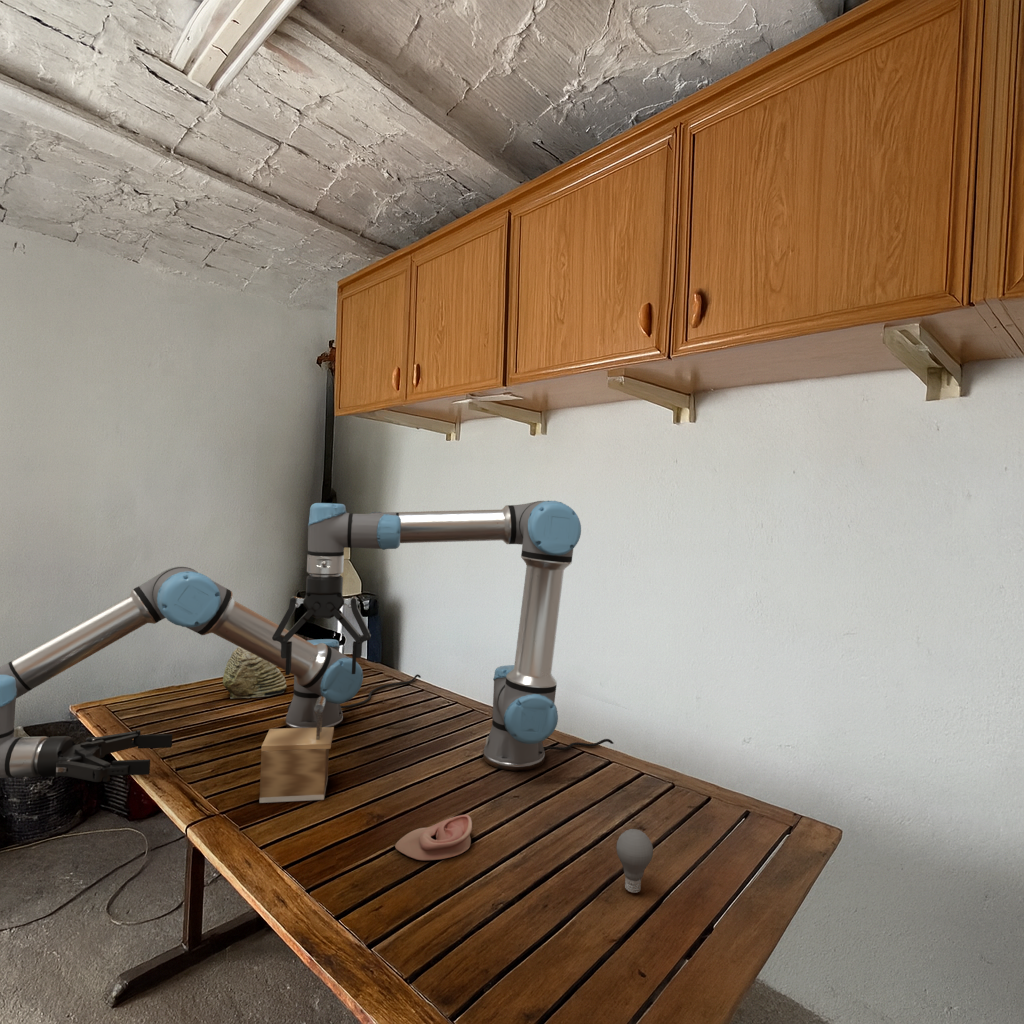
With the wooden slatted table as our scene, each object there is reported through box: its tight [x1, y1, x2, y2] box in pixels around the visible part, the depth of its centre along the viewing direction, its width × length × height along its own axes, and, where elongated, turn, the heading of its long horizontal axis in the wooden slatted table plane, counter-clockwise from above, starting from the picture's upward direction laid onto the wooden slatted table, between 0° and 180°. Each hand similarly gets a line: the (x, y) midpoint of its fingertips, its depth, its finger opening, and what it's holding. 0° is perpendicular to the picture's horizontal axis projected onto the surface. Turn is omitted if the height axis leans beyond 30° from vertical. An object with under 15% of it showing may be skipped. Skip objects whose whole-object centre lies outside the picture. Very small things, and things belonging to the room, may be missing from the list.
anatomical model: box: [394, 814, 473, 861], centre depth 117 cm, size 13×4×12 cm
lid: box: [260, 696, 335, 752], centre depth 136 cm, size 14×10×9 cm
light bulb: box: [615, 828, 654, 894], centre depth 106 cm, size 6×6×10 cm
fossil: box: [222, 646, 288, 699], centre depth 198 cm, size 9×18×15 cm, turn 132°
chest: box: [258, 749, 330, 804], centre depth 136 cm, size 13×10×11 cm
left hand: (161, 753), depth 130 cm, fingers open, 13 cm apart
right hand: (321, 673), depth 137 cm, fingers open, 13 cm apart
